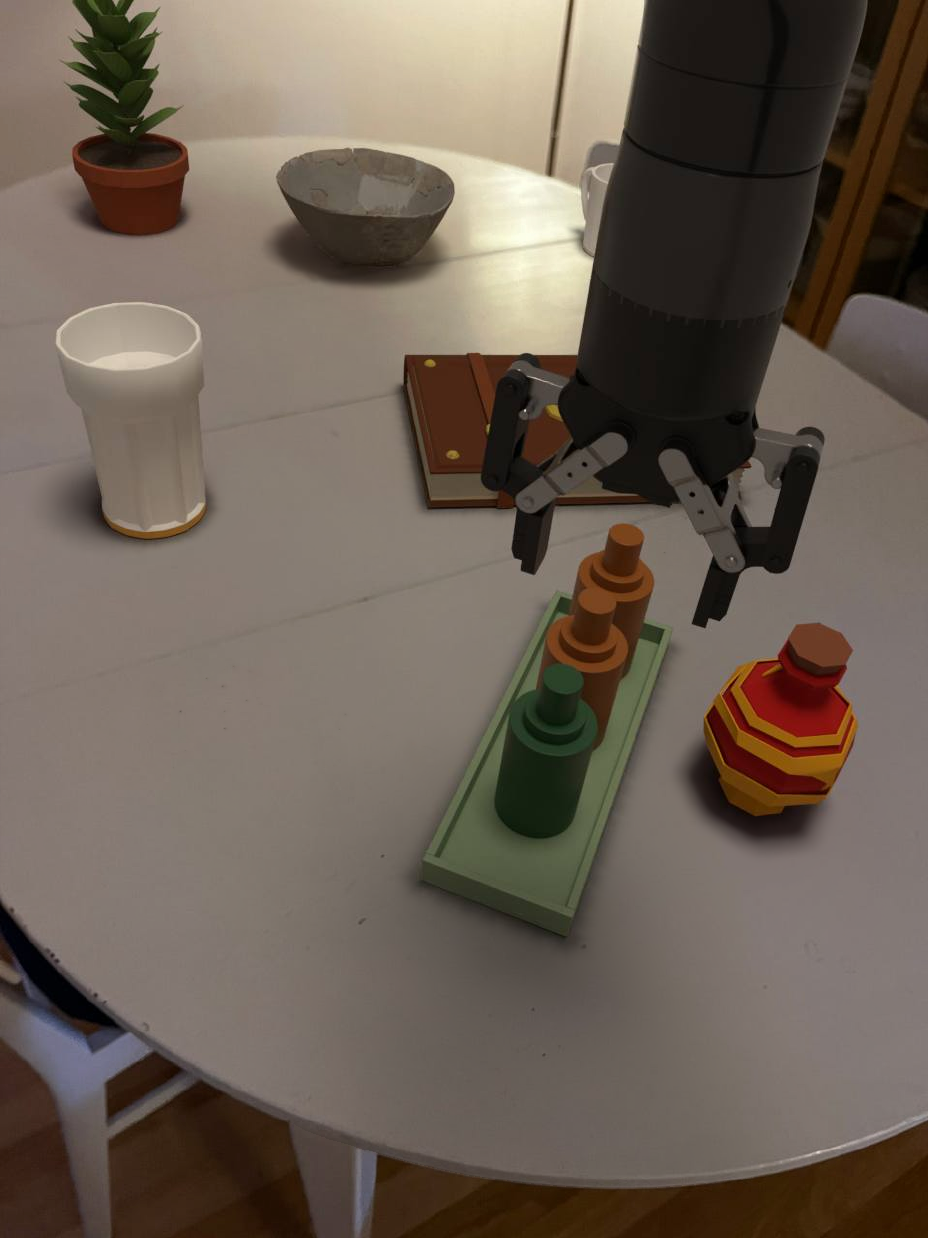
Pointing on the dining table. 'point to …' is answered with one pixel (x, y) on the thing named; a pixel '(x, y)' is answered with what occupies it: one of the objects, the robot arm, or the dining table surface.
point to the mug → (593, 202)
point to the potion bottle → (784, 724)
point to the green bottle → (546, 755)
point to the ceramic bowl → (366, 203)
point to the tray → (539, 867)
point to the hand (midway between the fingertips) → (616, 590)
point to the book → (482, 428)
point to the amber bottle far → (620, 582)
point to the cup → (139, 412)
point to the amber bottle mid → (590, 652)
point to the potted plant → (125, 125)
